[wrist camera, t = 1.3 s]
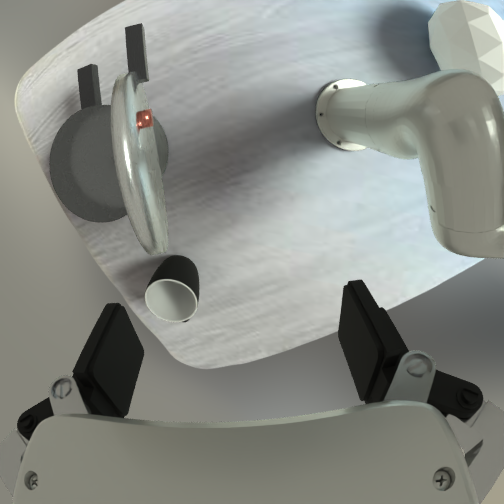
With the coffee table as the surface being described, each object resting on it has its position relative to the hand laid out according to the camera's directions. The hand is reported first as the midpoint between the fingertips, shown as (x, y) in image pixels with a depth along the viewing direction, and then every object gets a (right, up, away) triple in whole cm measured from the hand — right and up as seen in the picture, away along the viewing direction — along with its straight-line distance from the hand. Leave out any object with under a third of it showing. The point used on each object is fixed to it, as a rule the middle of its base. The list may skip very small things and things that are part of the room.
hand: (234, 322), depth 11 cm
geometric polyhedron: (+39, +43, +23) cm, 63 cm away
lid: (-11, +14, +12) cm, 21 cm away
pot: (-22, +22, +29) cm, 43 cm away
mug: (-13, -2, +43) cm, 45 cm away
